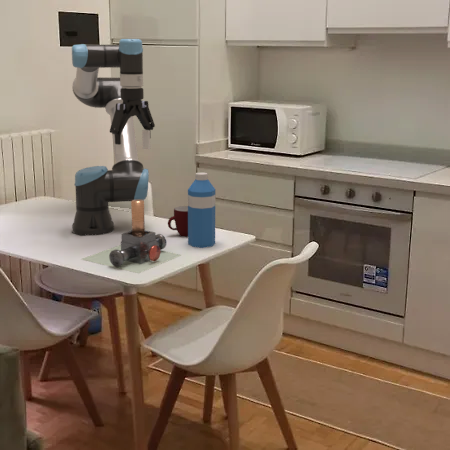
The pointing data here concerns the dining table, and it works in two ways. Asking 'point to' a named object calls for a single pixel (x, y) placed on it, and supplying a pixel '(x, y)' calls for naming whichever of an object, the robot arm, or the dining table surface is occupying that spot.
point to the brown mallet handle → (138, 217)
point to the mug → (180, 220)
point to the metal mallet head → (138, 248)
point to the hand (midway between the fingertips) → (133, 151)
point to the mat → (128, 266)
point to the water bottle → (201, 212)
